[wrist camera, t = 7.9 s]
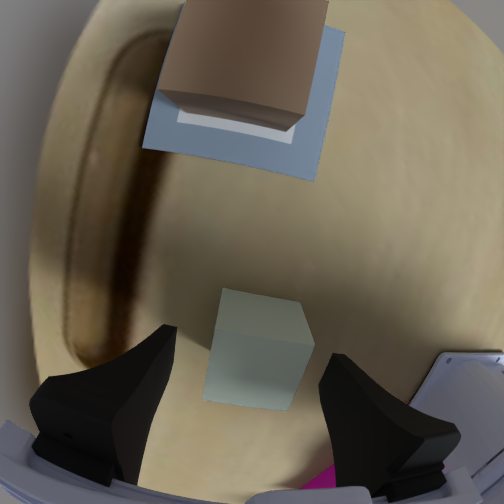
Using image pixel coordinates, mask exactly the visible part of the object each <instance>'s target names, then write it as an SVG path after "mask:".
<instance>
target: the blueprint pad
mask: <svg viewBox="0 0 504 504" xmlns="http://www.w3.org/2000/svg"><path fill="white" fill-rule="evenodd" d="M185 3H186V2H185ZM185 3H184V5H185ZM184 5H183V8H184ZM183 8H182V10H181V13H182V11H183ZM181 13H180V15H179V18H178V21H179V19H180V16H181ZM178 21H177V24H178ZM177 24H176V26H175V29H174V32H175V30H176V27H177ZM174 32H173V35H174ZM173 35H172V38H173ZM344 36H345V32H343V31H340V30H337V29H334V28H331V27H328V26H325V25H324V28H323V33H322V38H321V43H320V48H319V53H318V58H317V62H316V67H315V72H314V76H313V81H312V86H311V90H310V95H309V100H308V104H307V109H306V113H305V116H304V117H302V118H301V119H300V120H299V121H298V122H297V123H296V124H295V125H293V126H292V127H291V128H290V129H289V130H288V131H287V132H284V131H279V130H275V129H271V128H266V127H262V126H257V125H253V124H248V123H243V122H238V121H233V120H227V119H222V118H216V117H210V116H204V115H197V114H190V113H186V112H185V111H184V110H182V109H181V108H180V107H179V106H178V105H176V104H175V103H174V102H173V101H171V100H170V99H169V98H168V97H166V96H165V95H164V94H163V93H161V92H160V91H159V90H158V89H157V88H158V84H159V80H160V77H161V73H162V70H163V66H164V63H165V60H166V57H167V53H168V50H169V47H170V44H171V41H172V38H171V41H170V44H169V47H168V50H167V53H166V56H165V59H164V62H163V66H162V69H161V73H160V76H159V80H158V83H157V87H156V91H155V94H154V98H153V102H152V106H151V110H150V114H149V119H148V123H147V128H146V132H145V137H144V142H143V147H142V148H148V149H155V150H162V151H169V152H175V153H181V154H187V155H193V156H199V157H204V158H210V159H215V160H221V161H226V162H231V163H236V164H241V165H245V166H250V167H255V168H259V169H264V170H268V171H272V172H277V173H281V174H285V175H289V176H293V177H297V178H301V179H305V180H309V181H313V182H314V180H315V176H316V172H317V167H318V163H319V159H320V154H321V150H322V146H323V141H324V137H325V132H326V128H327V123H328V118H329V114H330V109H331V104H332V99H333V94H334V89H335V84H336V79H337V74H338V69H339V64H340V58H341V53H342V47H343V41H344Z"/></svg>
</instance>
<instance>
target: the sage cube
mask: <svg viewBox="0 0 504 504" xmlns="http://www.w3.org/2000/svg"><path fill="white" fill-rule="evenodd" d="M314 347H315V343H314V340H313V337H312V334H311V331H310V329H309V326H308V323H307V320H306V317H305V315H304V312H303V309H302V306H301V303H300V302H297V301H291V300H285V299H280V298H274V297H269V296H263V295H258V294H253V293H248V292H242V291H237V290H232V289H227V288H223V289H222V294H221V299H220V304H219V309H218V315H217V320H216V325H215V330H214V336H213V341H212V347H211V352H210V358H209V363H208V369H207V374H206V380H205V386H204V391H203V397H202V400H207V401H213V402H218V403H224V404H231V405H237V406H244V407H252V408H260V409H269V410H279V411H288V409H289V407H290V405H291V403H292V400H293V398H294V396H295V394H296V391H297V389H298V387H299V384H300V382H301V379H302V377H303V375H304V372H305V370H306V367H307V365H308V362H309V360H310V357H311V355H312V352H313V350H314Z"/></svg>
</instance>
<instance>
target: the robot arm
mask: <svg viewBox="0 0 504 504" xmlns="http://www.w3.org/2000/svg"><path fill="white" fill-rule="evenodd" d="M176 333H177V327H174V326H170V325H166V324H163V325H162V326H160V327H159V328H158V329H157V330H156V331H155V332H153V333H152V334H151V335H150V336H149V337H147V338H146V339H145V340H143V341H142V342H141V343H139V344H138V345H137V346H135V347H134V348H132V349H131V350H129V351H127V352H126V353H124V354H123V355H121V356H119V357H117V358H115V359H113V360H111V361H109V362H107V363H104V364H102V365H99V366H96V367H94V368H91V369H88V370H84V371H80V372H76V373H71V374H65V375H58V376H49V377H48V378H47V379H46V380H45V381H44V382H43V383H42V384H41V386H40V387H39V388H38V390H37V391H36V392H35V394H34V395H33V397H32V398H31V399H30V403H29V406H30V410H31V413H32V416H33V418H34V420H35V422H36V425H37V427H38V429H39V431H40V433H39V435H38V436H37V438H35V437H34V436H33V435H32V434H31V433H30V432H28V431H27V430H25V429H23V428H21V427H20V426H18V425H16V424H15V423H13V422H12V421H10V420H6V421H5V423H4V424H3V426H2V427H1V428H0V487H1V488H2V489H3V490H4V491H5V492H6V493H7V494H9V495H10V496H12V497H14V498H15V499H16V500H18V501H19V502H21V503H23V504H227V503H219V502H211V501H204V500H197V499H191V498H186V497H181V496H176V495H171V494H166V493H162V492H158V491H154V490H150V489H146V488H142V487H139V486H137V483H138V478H139V473H140V468H141V464H142V459H143V455H144V450H145V446H146V442H147V438H148V434H149V431H150V427H151V423H152V420H153V417H154V415H155V412H156V410H157V407H158V405H159V403H160V400H161V398H162V395H163V393H164V390H165V388H166V386H167V383H168V381H169V377H170V374H171V370H172V366H173V362H174V352H175V343H176ZM503 363H504V352H502V353H458V352H444V353H442V354H440V355H439V356H438V358H437V360H436V362H435V363H434V365H433V367H432V369H431V370H430V372H429V374H428V375H427V377H426V379H425V381H424V382H423V384H422V385H421V387H420V389H419V390H418V392H417V393H416V395H415V396H414V398H413V400H412V401H411V403H410V404H409V405H407V404H405V403H403V402H402V401H400V400H399V399H397V398H396V397H394V396H393V395H391V394H390V393H389V392H387V391H386V390H385V389H383V388H382V387H381V386H380V385H378V384H377V383H376V382H375V381H374V380H373V379H371V378H370V377H369V376H368V375H367V374H366V373H365V372H364V371H363V370H362V369H360V368H359V367H358V366H357V365H356V364H355V363H354V362H353V361H352V360H351V359H349V358H348V357H347V356H346V355H344V354H336V353H333V354H332V356H331V358H330V361H329V363H328V365H327V367H326V370H325V372H324V374H323V376H322V378H321V380H320V383H319V395H320V402H321V406H322V410H323V413H324V417H325V421H326V424H327V428H328V431H329V435H330V438H331V443H332V449H333V456H334V465H335V478H336V488H324V489H296V490H274V491H267V492H264V493H260V494H256V495H255V496H253V497H252V498H250V499H249V500H247V501H246V503H245V504H504V366H503Z"/></svg>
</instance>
